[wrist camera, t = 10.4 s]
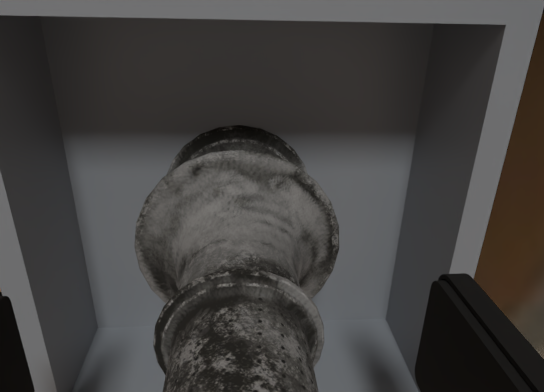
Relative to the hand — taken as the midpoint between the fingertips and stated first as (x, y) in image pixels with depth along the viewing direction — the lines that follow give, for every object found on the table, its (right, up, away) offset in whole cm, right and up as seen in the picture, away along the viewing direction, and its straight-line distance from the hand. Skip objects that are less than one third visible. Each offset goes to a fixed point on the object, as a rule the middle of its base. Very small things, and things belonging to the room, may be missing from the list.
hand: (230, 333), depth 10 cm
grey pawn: (0, +3, +6) cm, 7 cm away
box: (0, +4, +7) cm, 8 cm away
